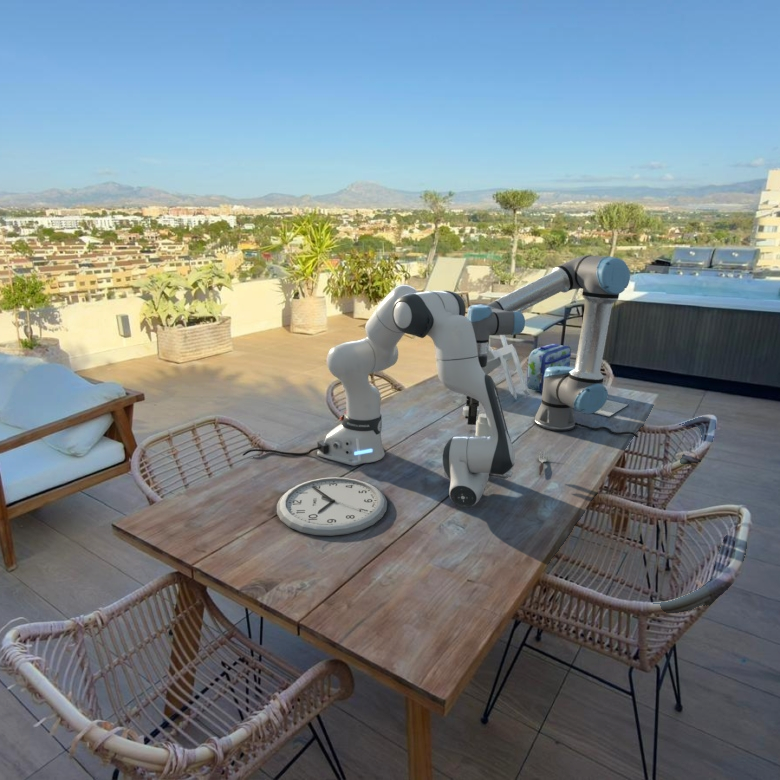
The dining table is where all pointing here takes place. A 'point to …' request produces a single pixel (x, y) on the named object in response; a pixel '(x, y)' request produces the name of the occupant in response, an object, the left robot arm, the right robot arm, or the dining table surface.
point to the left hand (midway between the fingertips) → (482, 453)
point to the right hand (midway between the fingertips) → (470, 421)
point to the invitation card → (610, 408)
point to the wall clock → (331, 506)
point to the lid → (465, 410)
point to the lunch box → (545, 363)
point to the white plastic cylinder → (482, 426)
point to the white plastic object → (505, 364)
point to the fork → (542, 461)
